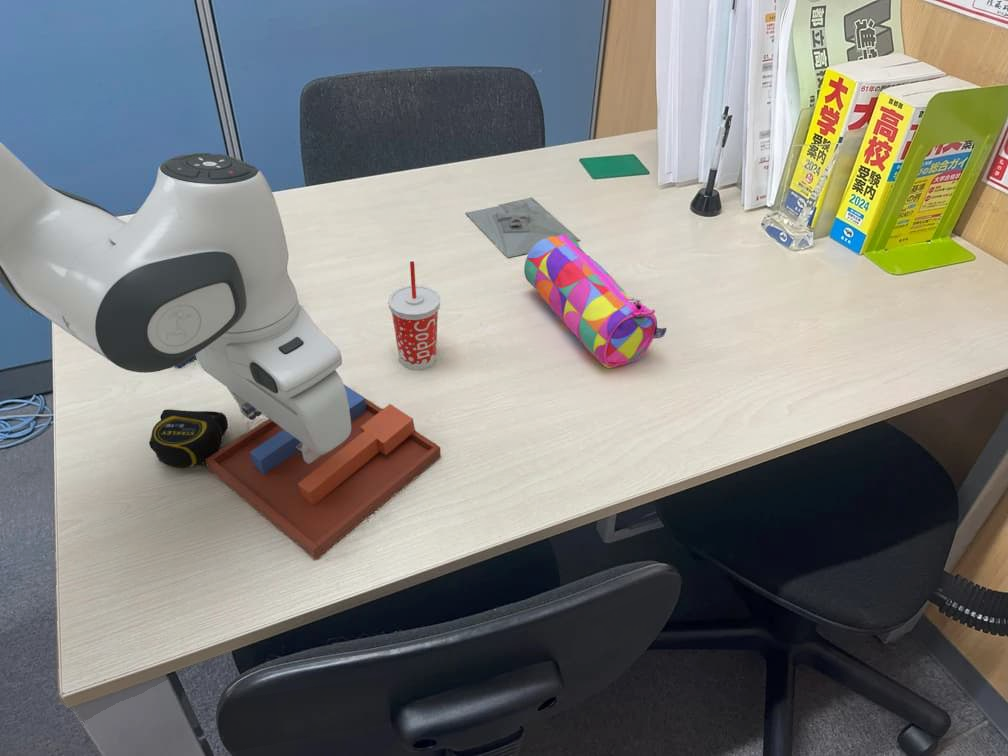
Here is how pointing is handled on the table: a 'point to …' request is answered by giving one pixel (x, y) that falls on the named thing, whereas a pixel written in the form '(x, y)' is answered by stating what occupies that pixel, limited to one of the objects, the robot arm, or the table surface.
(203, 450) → the tape measure
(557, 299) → the pencil case
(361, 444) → the rust stepped bar
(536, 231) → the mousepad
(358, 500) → the rust tray
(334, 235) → the table surface
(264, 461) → the blue stepped bar
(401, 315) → the beverage cup
